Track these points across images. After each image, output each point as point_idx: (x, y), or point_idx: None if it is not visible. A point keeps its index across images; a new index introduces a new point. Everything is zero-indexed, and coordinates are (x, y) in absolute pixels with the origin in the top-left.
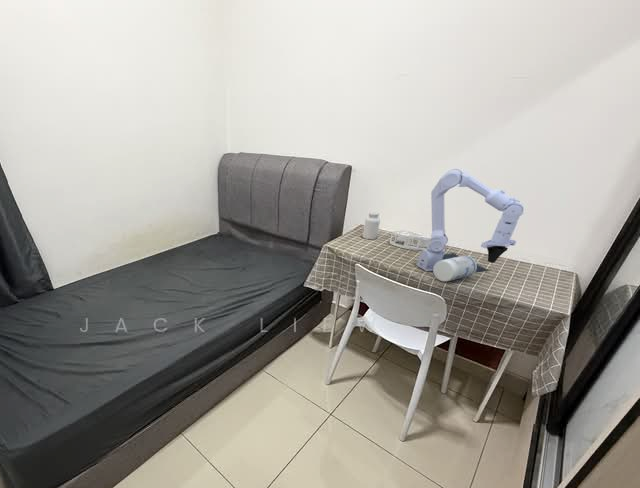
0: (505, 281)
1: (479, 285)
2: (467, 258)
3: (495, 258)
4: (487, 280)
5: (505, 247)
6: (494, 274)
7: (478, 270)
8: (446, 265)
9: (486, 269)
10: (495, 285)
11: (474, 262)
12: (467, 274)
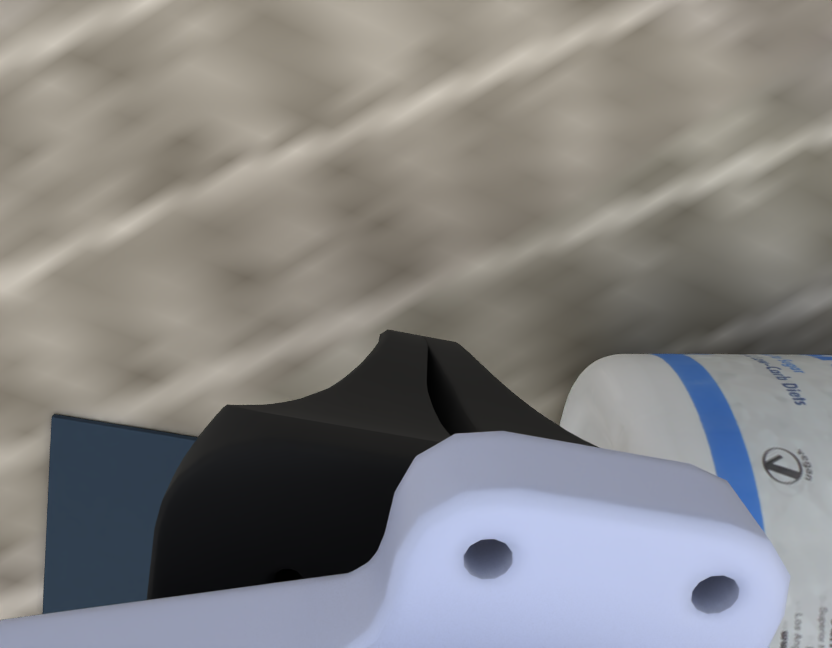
0: (151, 48)
1: (687, 133)
2: (827, 640)
3: (456, 370)
4: (396, 194)
5: (226, 553)
6: (79, 284)
7: None
8: None
9: (51, 432)
10: (459, 23)
11: None
12: (793, 356)
